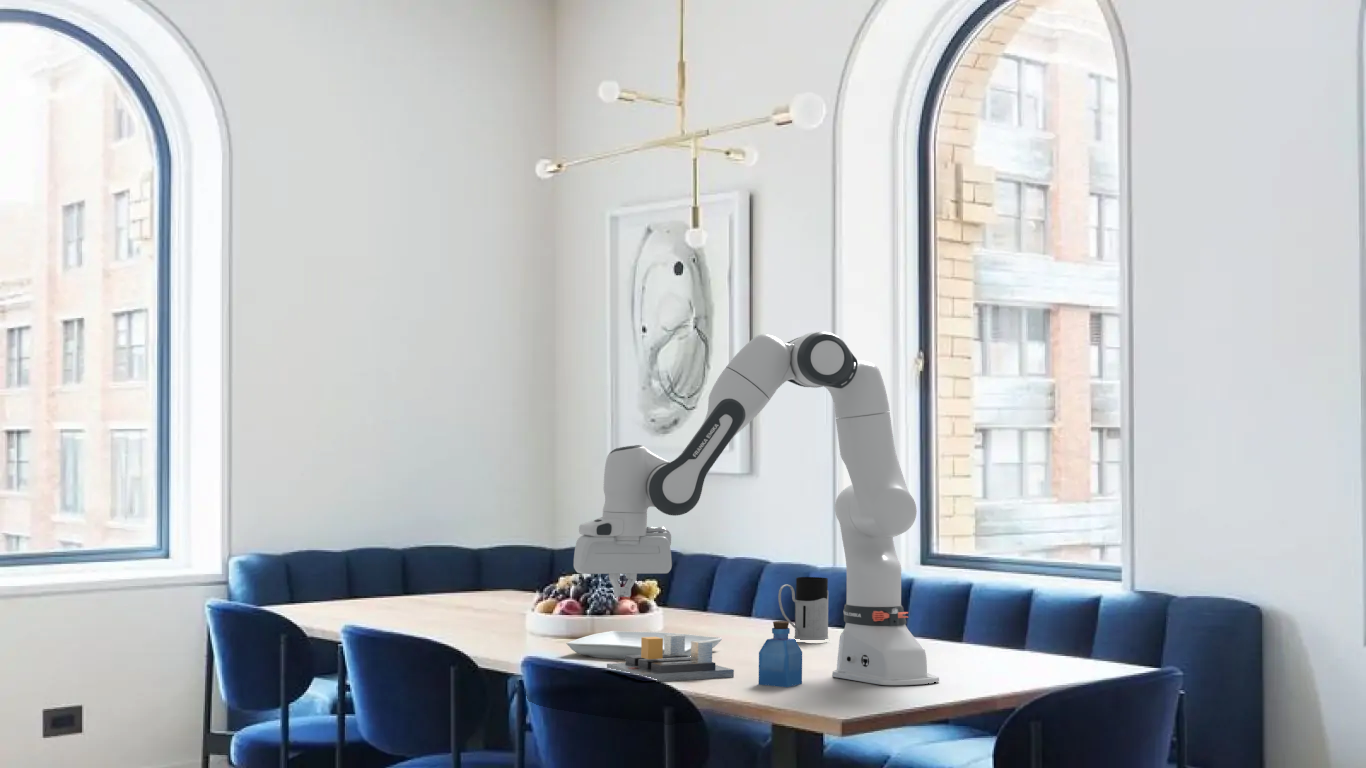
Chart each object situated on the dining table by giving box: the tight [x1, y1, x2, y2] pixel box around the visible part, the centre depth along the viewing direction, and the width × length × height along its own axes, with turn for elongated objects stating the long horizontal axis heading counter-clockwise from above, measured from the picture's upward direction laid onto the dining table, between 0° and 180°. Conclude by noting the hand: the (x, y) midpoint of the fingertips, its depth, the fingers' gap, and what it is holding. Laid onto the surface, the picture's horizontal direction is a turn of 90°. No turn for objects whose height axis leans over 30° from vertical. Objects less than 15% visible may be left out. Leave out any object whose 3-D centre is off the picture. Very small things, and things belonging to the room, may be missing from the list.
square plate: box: [566, 630, 723, 660], centre depth 369 cm, size 27×27×4 cm
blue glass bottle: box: [758, 620, 803, 688], centre depth 325 cm, size 6×6×12 cm
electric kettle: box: [777, 576, 829, 640], centre depth 397 cm, size 9×14×15 cm, turn 124°
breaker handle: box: [641, 637, 663, 659], centre depth 334 cm, size 3×3×4 cm
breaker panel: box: [606, 633, 735, 682], centre depth 336 cm, size 17×20×7 cm
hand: (622, 596), depth 332 cm, fingers closed
